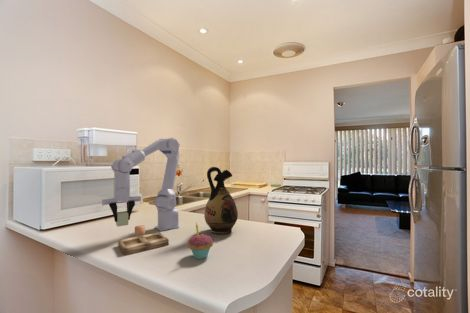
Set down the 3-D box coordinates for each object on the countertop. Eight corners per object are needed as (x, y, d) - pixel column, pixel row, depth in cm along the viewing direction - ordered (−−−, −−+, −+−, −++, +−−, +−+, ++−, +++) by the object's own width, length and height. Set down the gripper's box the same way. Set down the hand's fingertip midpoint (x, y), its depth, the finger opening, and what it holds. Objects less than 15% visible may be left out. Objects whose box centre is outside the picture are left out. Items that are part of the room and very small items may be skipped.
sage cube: (126, 222, 98) (126, 211, 98) (128, 224, 95) (128, 212, 95) (115, 224, 96) (115, 212, 96) (117, 226, 93) (117, 214, 93)
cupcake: (201, 263, 74) (201, 226, 74) (182, 257, 78) (182, 222, 78) (217, 254, 81) (217, 219, 81) (199, 249, 86) (199, 216, 86)
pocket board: (159, 237, 99) (159, 232, 99) (168, 244, 90) (168, 239, 90) (118, 245, 90) (118, 240, 90) (124, 255, 81) (124, 248, 81)
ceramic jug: (229, 224, 118) (229, 165, 118) (243, 233, 104) (242, 166, 104) (197, 229, 110) (196, 166, 111) (207, 239, 96) (206, 167, 97)
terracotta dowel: (143, 236, 101) (143, 224, 101) (146, 238, 98) (145, 226, 98) (133, 238, 99) (133, 226, 99) (136, 240, 95) (136, 228, 96)
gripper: (138, 185, 103) (138, 215, 103) (100, 188, 95) (100, 221, 94) (142, 186, 97) (142, 219, 97) (103, 189, 89) (103, 225, 89)
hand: (122, 220), depth 95 cm, fingers closed on sage cube, 4 cm apart
